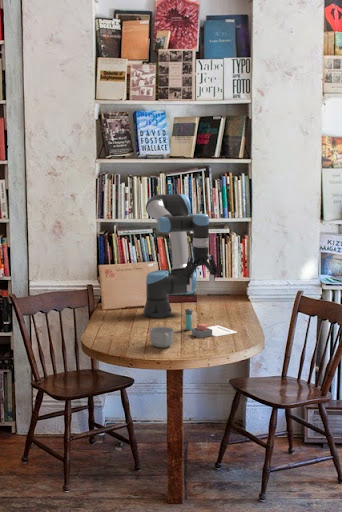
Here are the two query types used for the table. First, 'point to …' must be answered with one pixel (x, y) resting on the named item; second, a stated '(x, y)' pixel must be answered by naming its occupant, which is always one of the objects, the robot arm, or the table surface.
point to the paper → (220, 331)
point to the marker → (188, 319)
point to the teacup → (161, 336)
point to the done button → (201, 327)
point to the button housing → (201, 333)
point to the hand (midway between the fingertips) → (200, 289)
